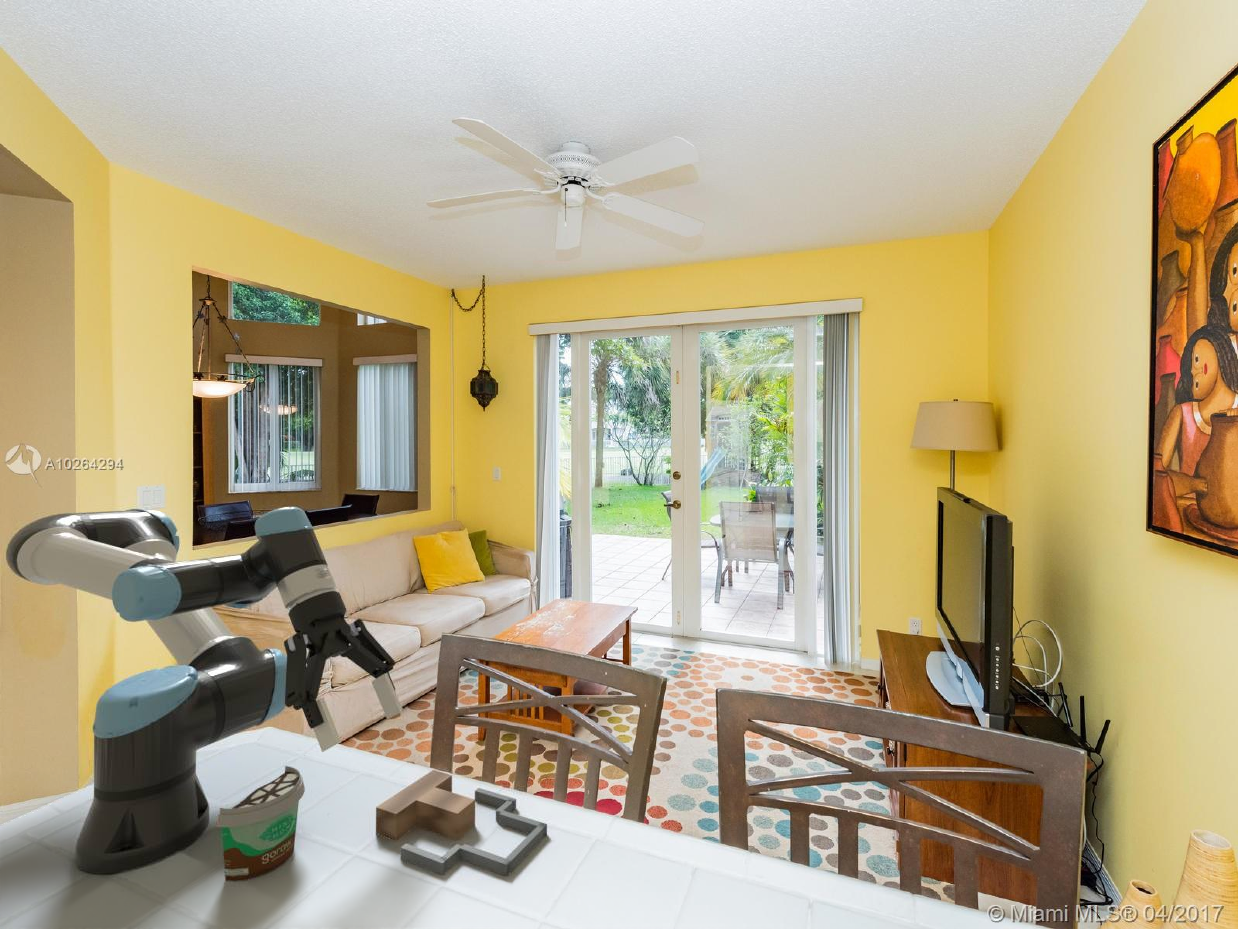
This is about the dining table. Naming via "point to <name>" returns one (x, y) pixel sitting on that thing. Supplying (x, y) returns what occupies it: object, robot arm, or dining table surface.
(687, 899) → the dining table surface
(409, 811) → the t block
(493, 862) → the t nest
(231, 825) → the food container
